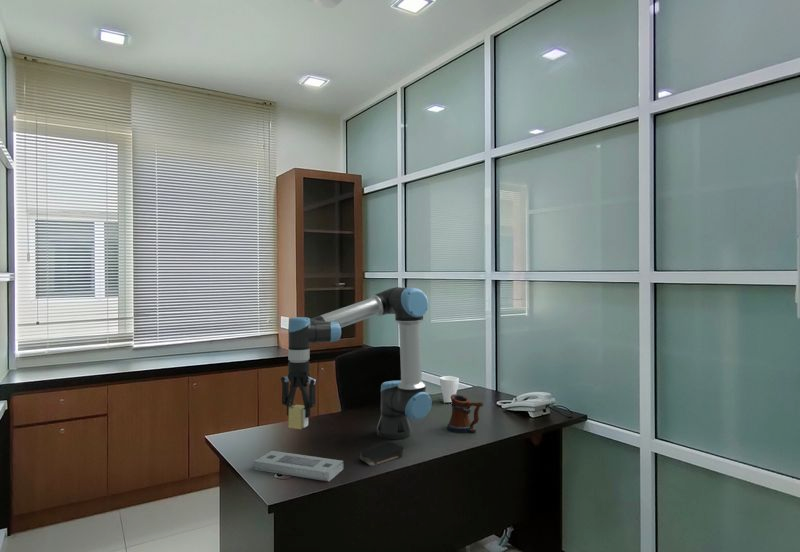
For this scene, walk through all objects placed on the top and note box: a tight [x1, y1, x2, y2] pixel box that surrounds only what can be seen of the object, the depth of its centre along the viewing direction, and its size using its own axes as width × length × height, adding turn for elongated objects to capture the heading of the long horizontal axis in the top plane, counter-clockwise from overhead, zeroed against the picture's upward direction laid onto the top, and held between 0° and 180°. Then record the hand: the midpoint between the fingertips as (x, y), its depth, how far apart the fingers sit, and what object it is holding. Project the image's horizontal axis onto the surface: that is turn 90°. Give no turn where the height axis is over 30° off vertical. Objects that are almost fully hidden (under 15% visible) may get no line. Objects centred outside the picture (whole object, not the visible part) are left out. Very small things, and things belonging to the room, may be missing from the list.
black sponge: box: [359, 442, 404, 467], centre depth 182 cm, size 16×8×4 cm, turn 130°
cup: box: [439, 375, 460, 403], centre depth 263 cm, size 10×10×14 cm
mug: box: [447, 393, 484, 434], centre depth 216 cm, size 18×12×15 cm, turn 45°
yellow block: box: [287, 404, 305, 430], centre depth 172 cm, size 5×5×7 cm
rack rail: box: [253, 450, 344, 482], centre depth 172 cm, size 30×11×3 cm, turn 71°
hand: (298, 425), depth 172 cm, fingers closed on yellow block, 5 cm apart
